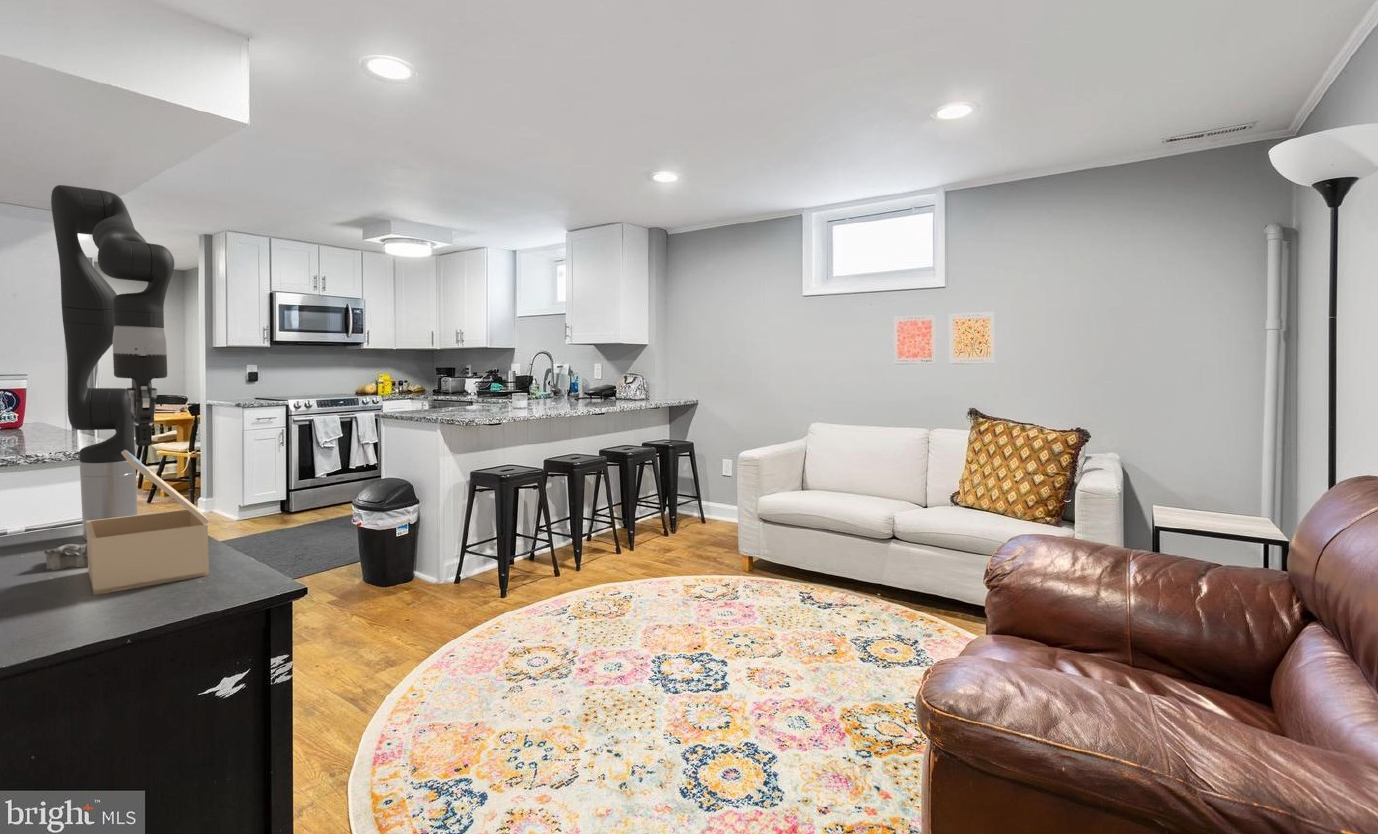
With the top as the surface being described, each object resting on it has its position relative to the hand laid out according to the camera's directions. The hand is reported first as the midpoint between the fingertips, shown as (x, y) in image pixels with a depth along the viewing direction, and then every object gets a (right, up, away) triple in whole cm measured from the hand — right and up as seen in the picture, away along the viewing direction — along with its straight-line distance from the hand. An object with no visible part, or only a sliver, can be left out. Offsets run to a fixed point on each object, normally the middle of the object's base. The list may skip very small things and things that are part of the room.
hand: (143, 445), depth 119 cm
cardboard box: (-1, -24, +2) cm, 24 cm away
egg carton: (-18, -24, +7) cm, 31 cm away
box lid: (+1, -8, +3) cm, 9 cm away
